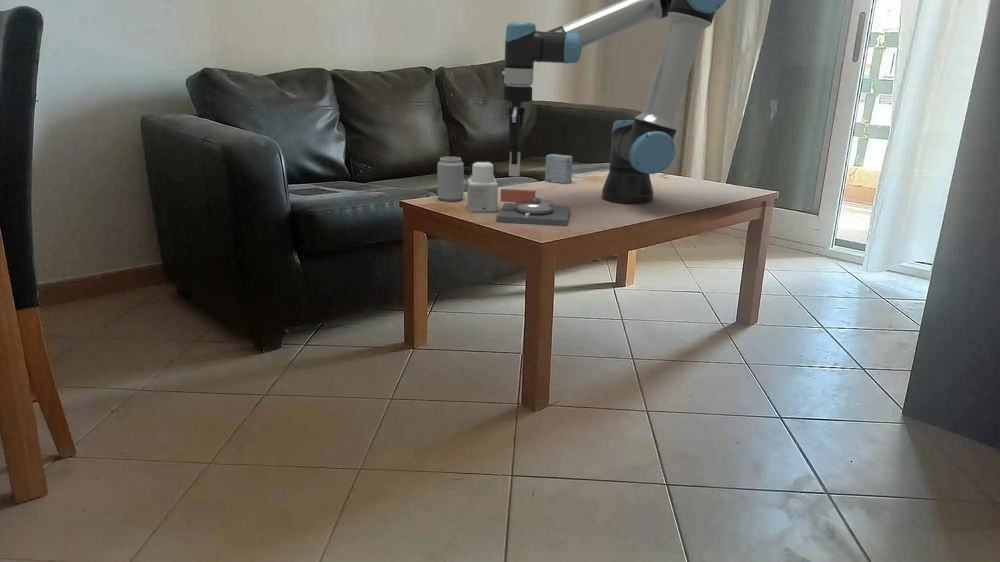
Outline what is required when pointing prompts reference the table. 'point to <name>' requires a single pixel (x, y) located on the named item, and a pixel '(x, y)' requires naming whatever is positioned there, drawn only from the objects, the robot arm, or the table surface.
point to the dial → (527, 201)
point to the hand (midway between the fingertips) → (514, 175)
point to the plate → (533, 216)
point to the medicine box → (558, 168)
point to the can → (450, 178)
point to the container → (482, 187)
